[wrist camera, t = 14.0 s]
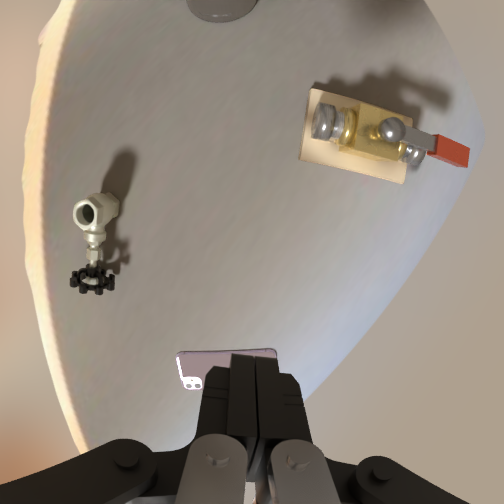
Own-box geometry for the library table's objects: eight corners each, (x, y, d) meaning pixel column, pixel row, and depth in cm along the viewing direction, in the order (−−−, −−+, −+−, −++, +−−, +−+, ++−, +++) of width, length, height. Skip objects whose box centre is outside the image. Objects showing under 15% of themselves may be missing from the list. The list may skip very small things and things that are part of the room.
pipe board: (309, 90, 33) (315, 83, 30) (407, 119, 34) (421, 116, 31) (298, 159, 36) (303, 158, 32) (398, 183, 36) (411, 185, 33)
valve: (89, 187, 36) (83, 270, 39) (64, 192, 30) (60, 287, 33) (132, 194, 36) (122, 280, 40) (111, 201, 30) (104, 300, 33)
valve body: (313, 103, 32) (330, 88, 25) (408, 130, 33) (440, 126, 26) (307, 144, 34) (322, 139, 26) (402, 168, 35) (434, 171, 27)
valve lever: (375, 138, 26) (383, 137, 25) (378, 116, 26) (386, 113, 24) (457, 167, 27) (467, 168, 25) (459, 147, 26) (469, 147, 25)
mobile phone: (277, 389, 44) (182, 391, 44) (276, 385, 45) (183, 387, 45) (276, 350, 42) (173, 353, 42) (276, 347, 43) (175, 350, 43)
